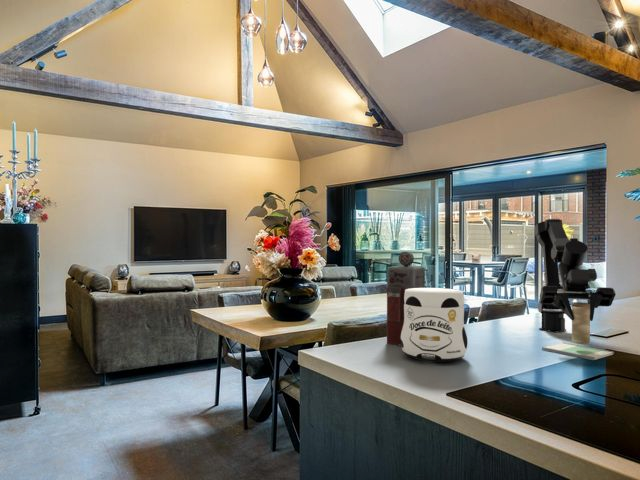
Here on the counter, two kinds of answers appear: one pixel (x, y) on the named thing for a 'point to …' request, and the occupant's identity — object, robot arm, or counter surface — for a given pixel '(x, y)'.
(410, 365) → the counter surface
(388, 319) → the dark red bottle
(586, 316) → the peg
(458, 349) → the white black rounded container
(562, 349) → the board
